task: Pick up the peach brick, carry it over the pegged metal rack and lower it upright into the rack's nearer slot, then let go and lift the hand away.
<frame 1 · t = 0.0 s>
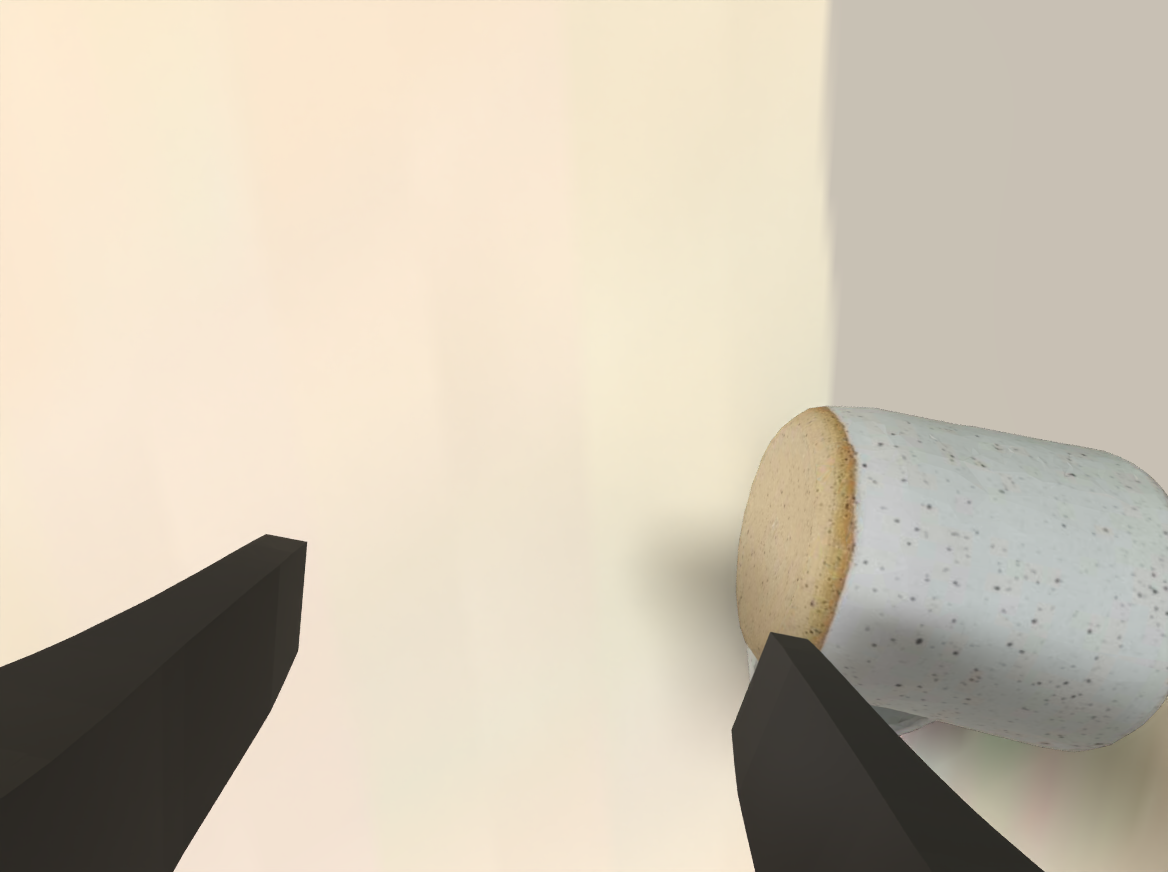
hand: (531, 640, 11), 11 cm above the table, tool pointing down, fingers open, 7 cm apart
ceramic mug: (858, 555, 23), on the table
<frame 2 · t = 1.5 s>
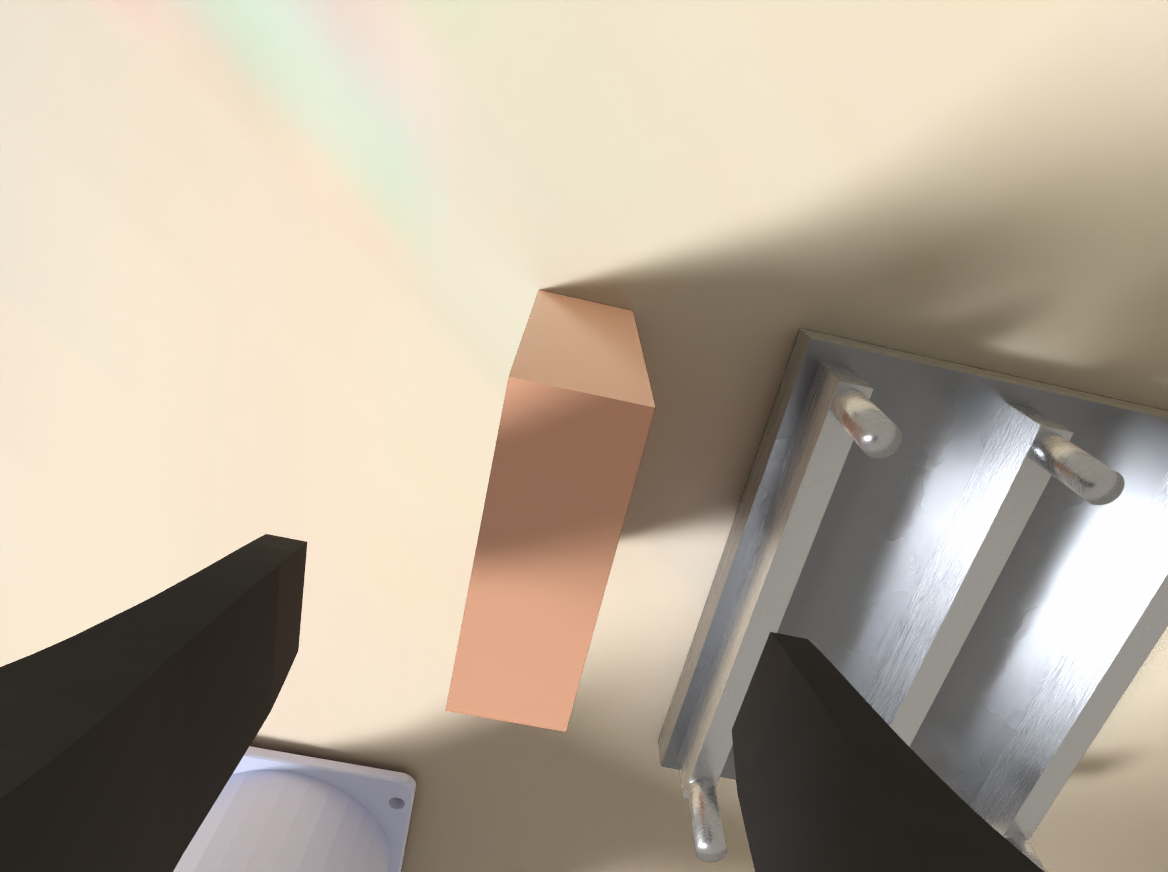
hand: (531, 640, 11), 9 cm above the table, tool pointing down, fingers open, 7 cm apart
peach brick: (557, 427, 19), on the table
pegged metal rack: (904, 597, 21), on the table
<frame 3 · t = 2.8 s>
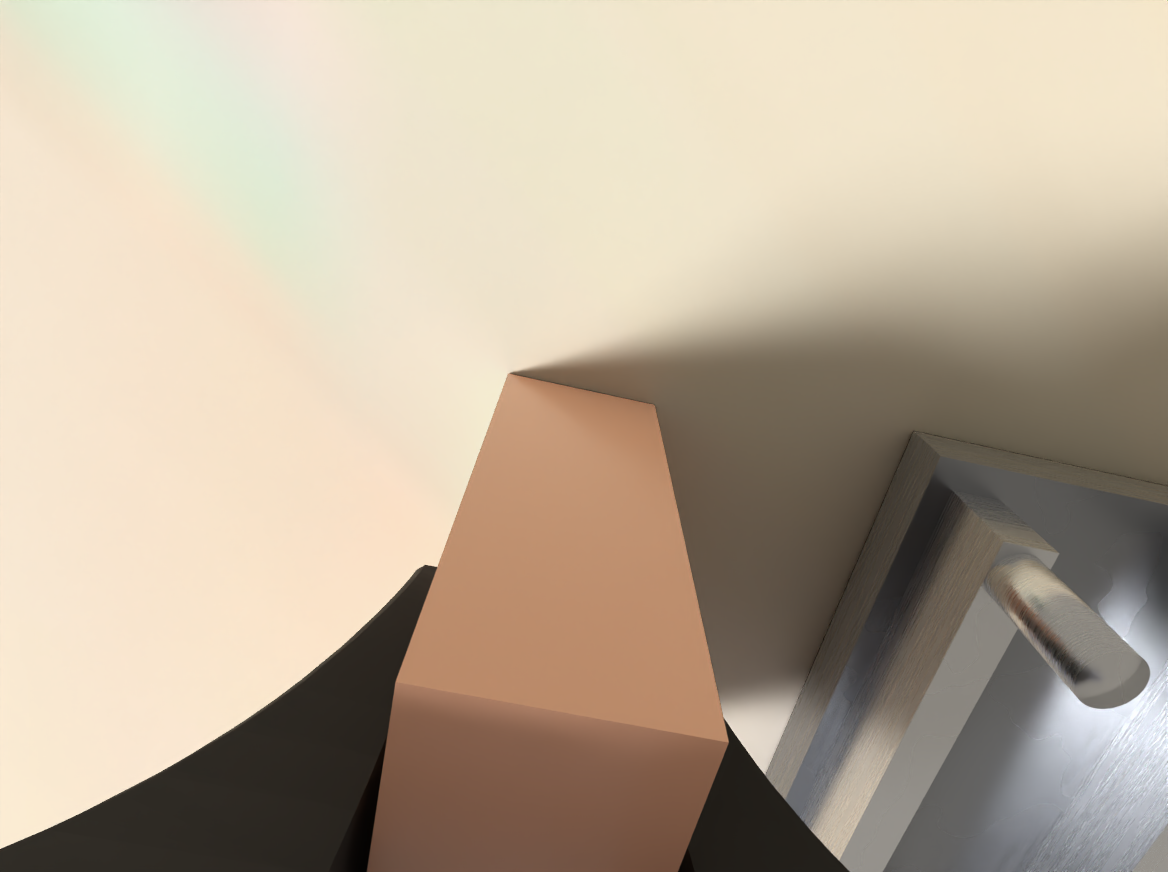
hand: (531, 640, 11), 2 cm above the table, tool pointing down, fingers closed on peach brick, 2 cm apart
peach brick: (539, 570, 13), on the table, touching gripper
pegged metal rack: (1039, 795, 15), on the table
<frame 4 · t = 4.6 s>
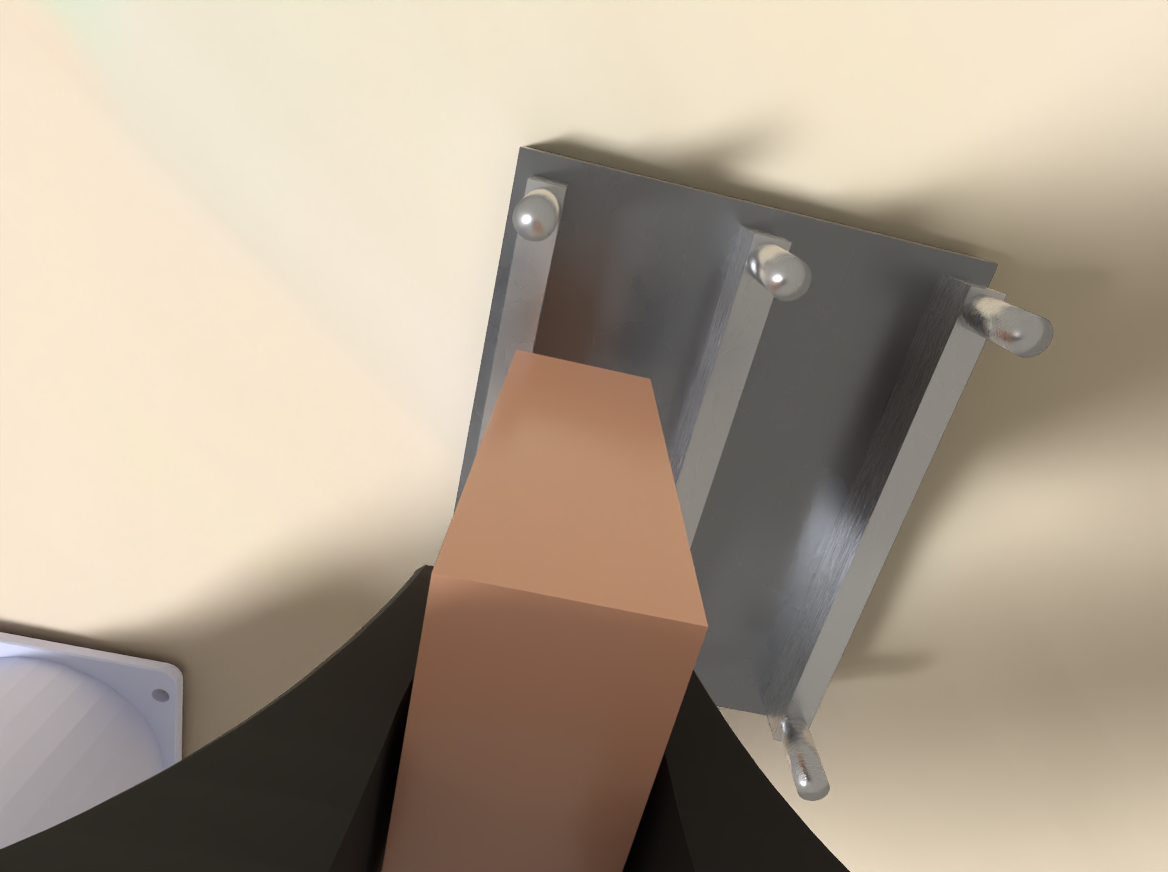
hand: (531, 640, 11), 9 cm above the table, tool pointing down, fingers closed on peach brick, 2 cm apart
peach brick: (544, 534, 14), point 6 cm above the table, touching gripper
pegged metal rack: (675, 464, 20), on the table
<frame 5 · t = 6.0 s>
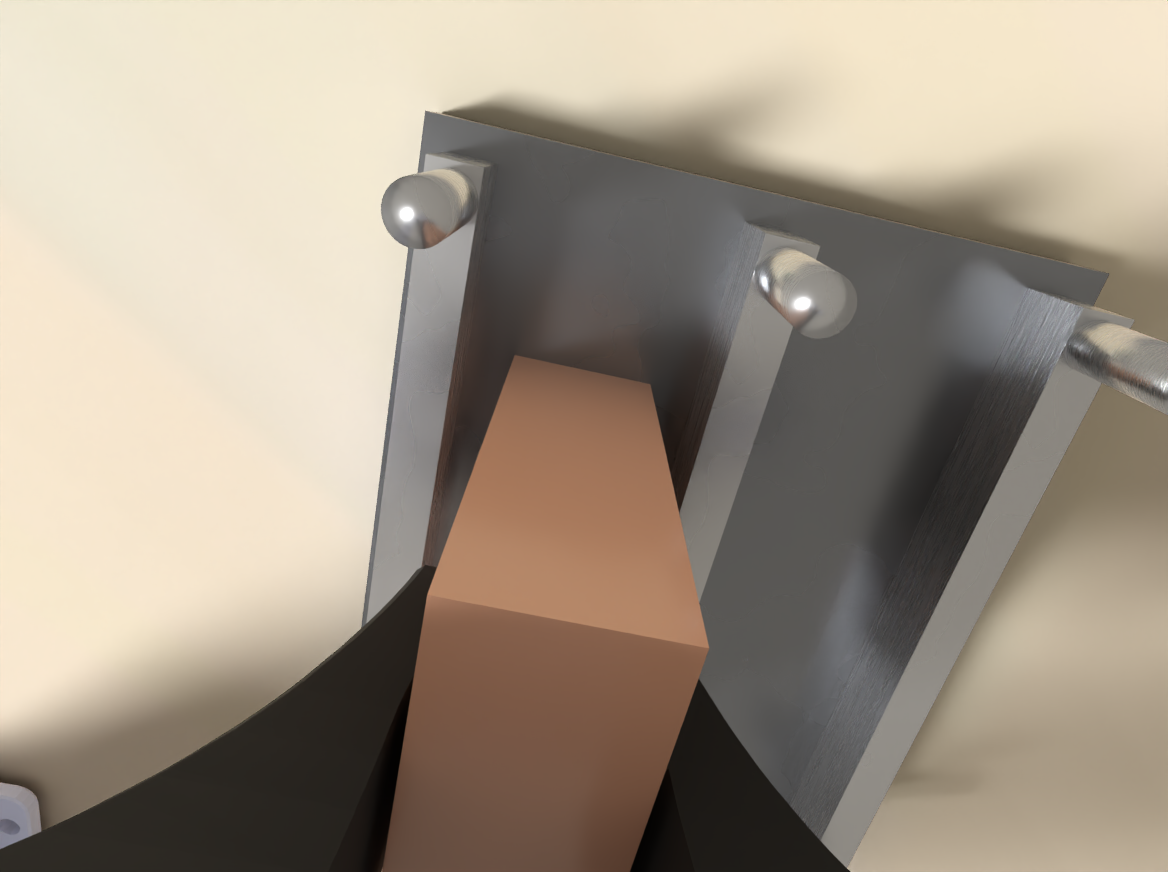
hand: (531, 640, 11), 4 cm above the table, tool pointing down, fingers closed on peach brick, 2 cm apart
peach brick: (543, 540, 14), point 1 cm above the table, touching pegged metal rack, gripper
pegged metal rack: (659, 539, 15), on the table
when the fingers open (4 cm above the table, at t = 6.6 s): peach brick stays where it is, resting on pegged metal rack.
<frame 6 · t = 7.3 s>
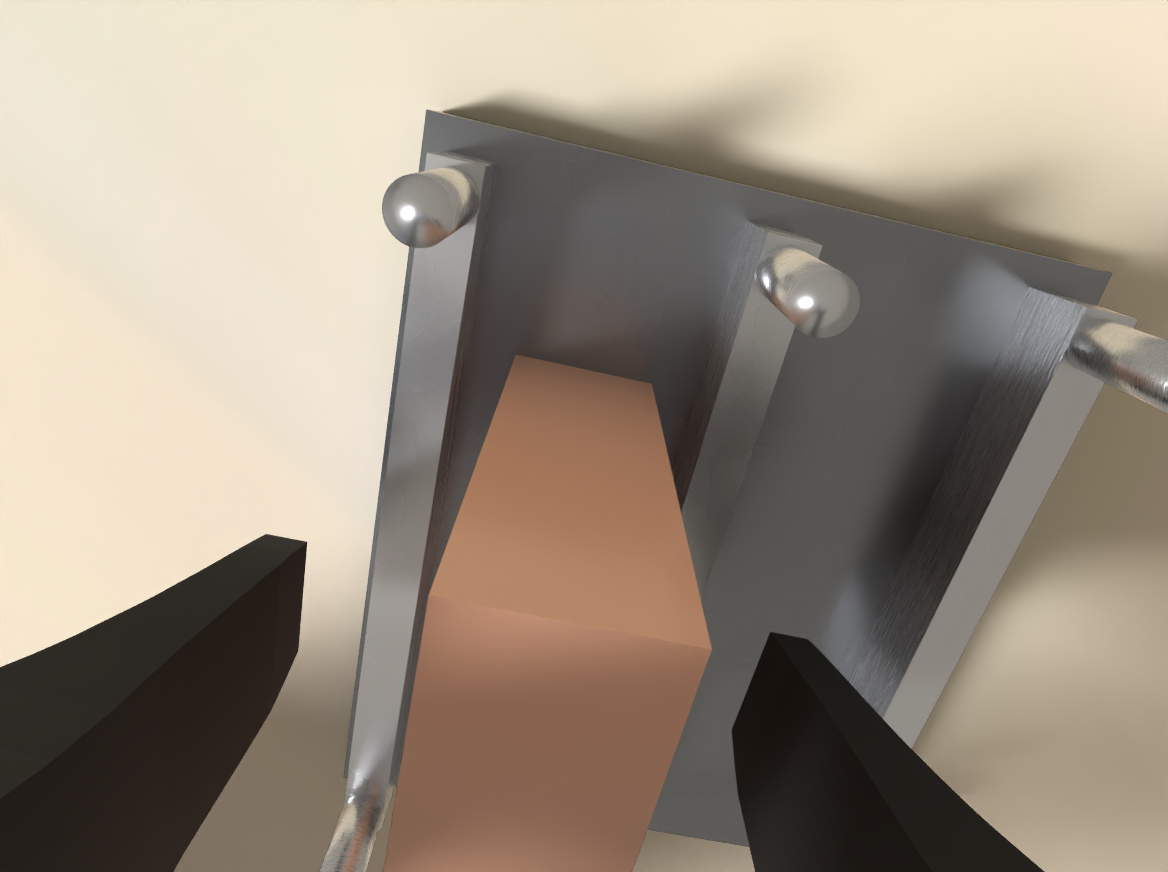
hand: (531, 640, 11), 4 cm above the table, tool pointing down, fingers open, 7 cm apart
peach brick: (544, 540, 14), point 1 cm above the table, touching pegged metal rack
pegged metal rack: (661, 539, 15), on the table
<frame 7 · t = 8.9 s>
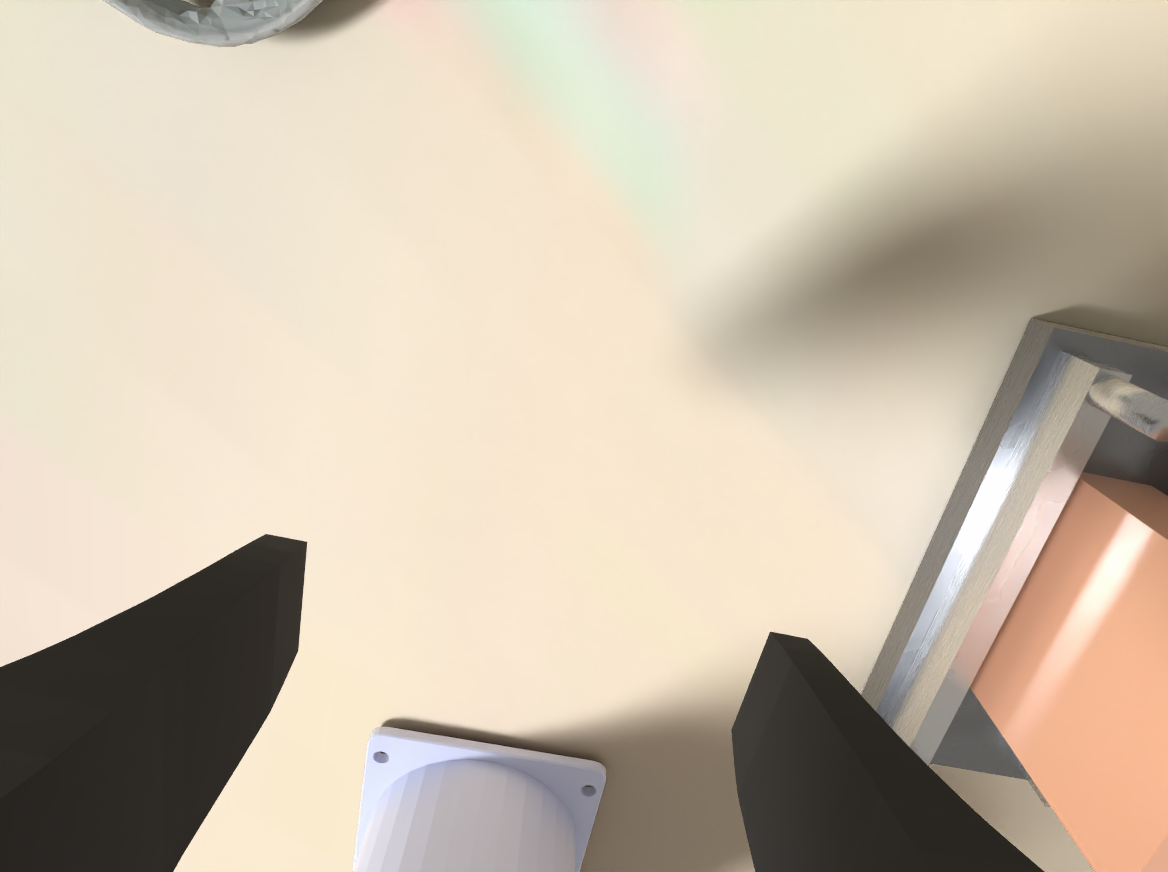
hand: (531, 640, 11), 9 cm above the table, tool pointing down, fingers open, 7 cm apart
peach brick: (1050, 586, 20), point 1 cm above the table, touching pegged metal rack
pegged metal rack: (1105, 581, 22), on the table
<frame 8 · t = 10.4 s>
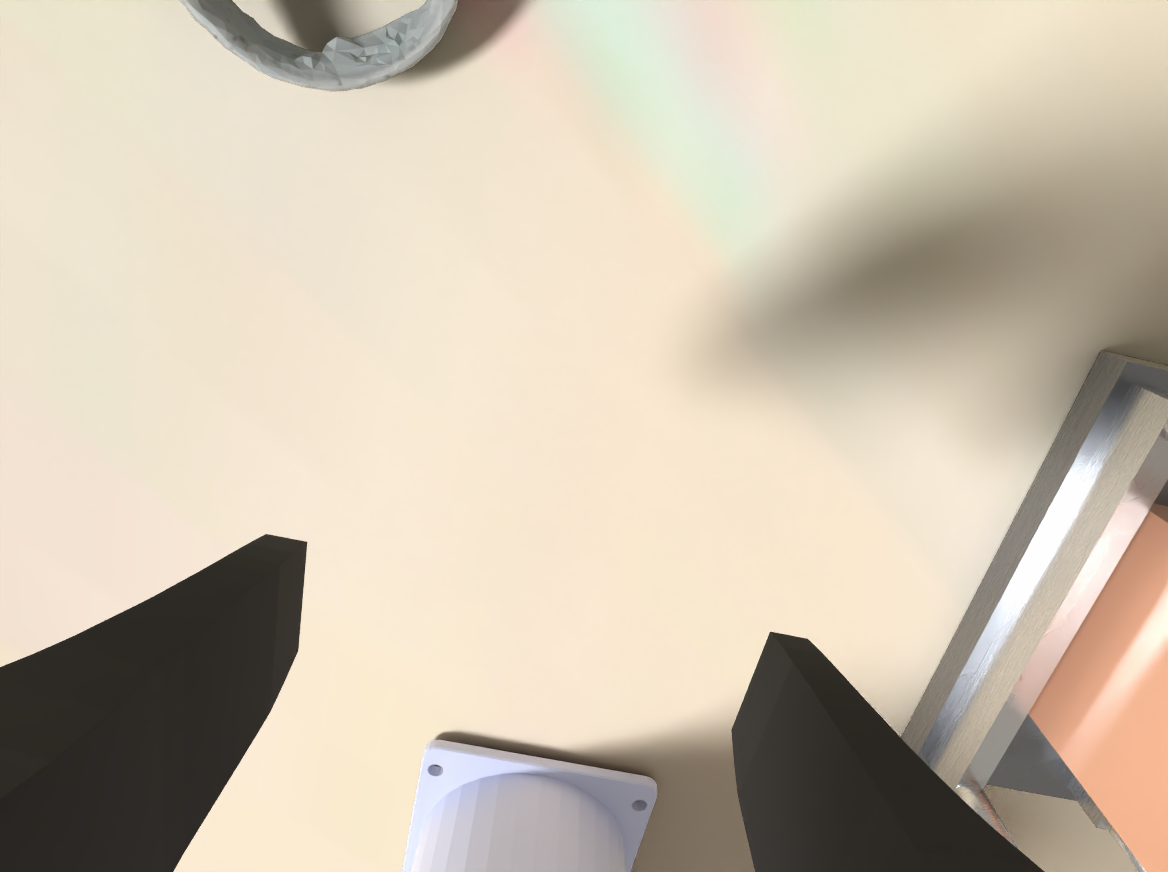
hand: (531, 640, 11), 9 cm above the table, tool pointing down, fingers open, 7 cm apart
peach brick: (1109, 612, 21), point 1 cm above the table, touching pegged metal rack
pegged metal rack: (1159, 607, 22), on the table
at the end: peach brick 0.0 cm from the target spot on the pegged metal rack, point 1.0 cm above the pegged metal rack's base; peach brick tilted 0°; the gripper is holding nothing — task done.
